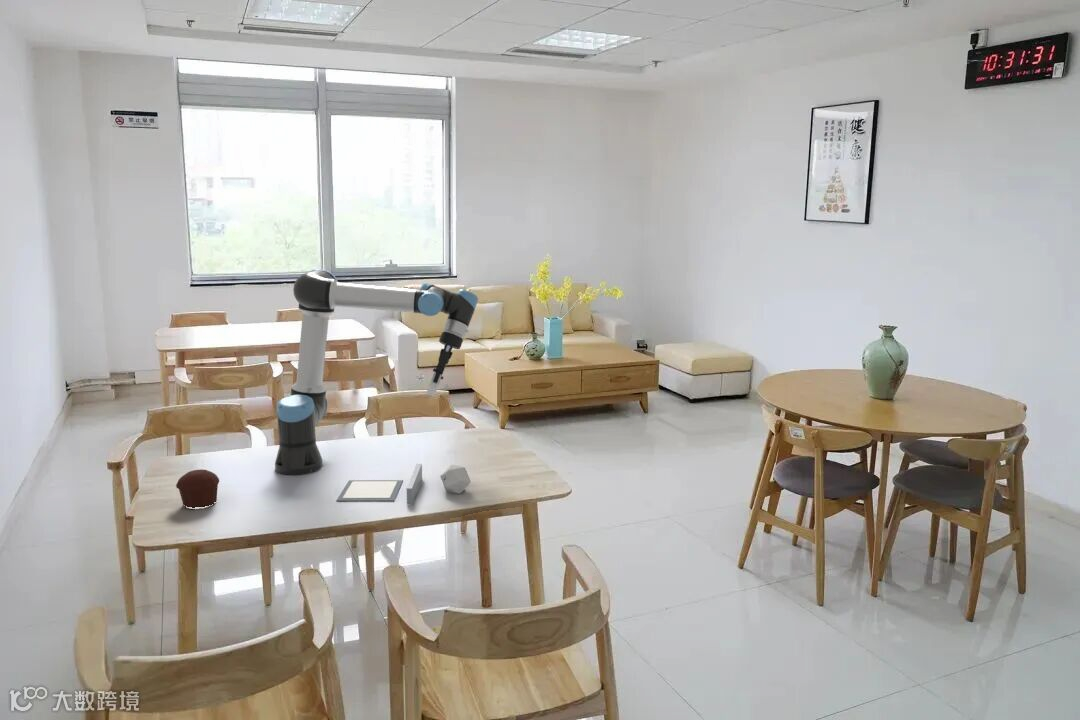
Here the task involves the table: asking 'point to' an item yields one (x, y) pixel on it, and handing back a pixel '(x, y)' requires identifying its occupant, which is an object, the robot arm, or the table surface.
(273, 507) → the table surface
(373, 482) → the mat
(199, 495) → the muffin
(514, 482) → the table surface
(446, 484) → the die
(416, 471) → the low wall
